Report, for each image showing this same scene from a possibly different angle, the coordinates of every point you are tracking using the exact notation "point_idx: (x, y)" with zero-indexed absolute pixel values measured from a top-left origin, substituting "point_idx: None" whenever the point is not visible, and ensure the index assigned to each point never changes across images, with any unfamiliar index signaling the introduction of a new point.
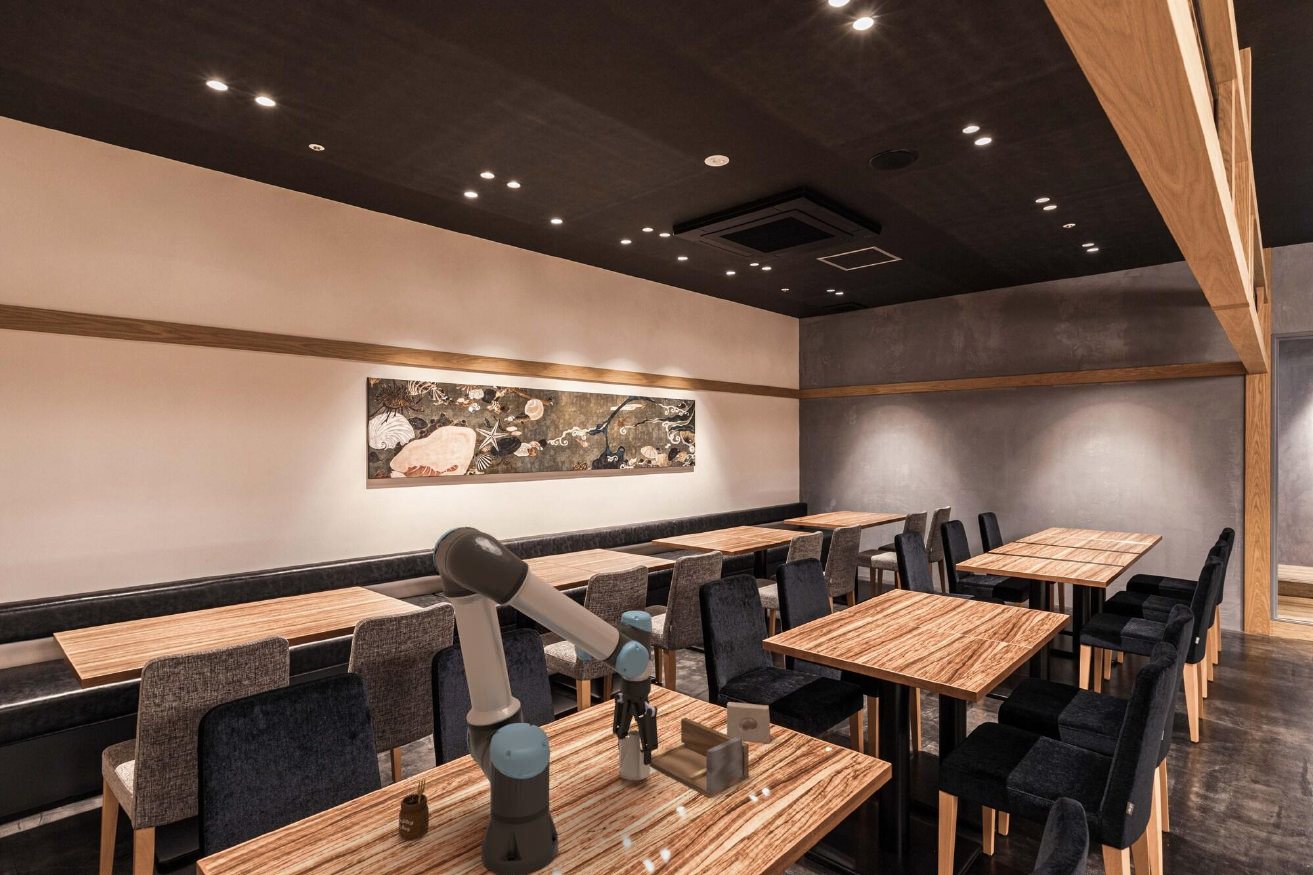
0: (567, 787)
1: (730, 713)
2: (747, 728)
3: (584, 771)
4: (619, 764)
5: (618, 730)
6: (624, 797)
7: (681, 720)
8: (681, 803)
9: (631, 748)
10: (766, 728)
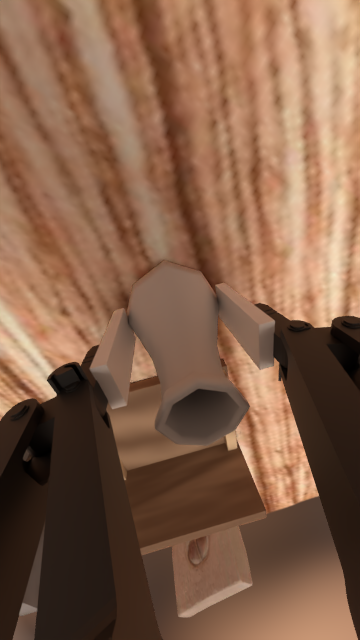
0: (255, 51)
1: (228, 559)
2: None
3: (304, 190)
4: (224, 285)
5: (324, 345)
6: (91, 232)
7: (262, 506)
8: (7, 357)
9: (170, 339)
10: (175, 554)
